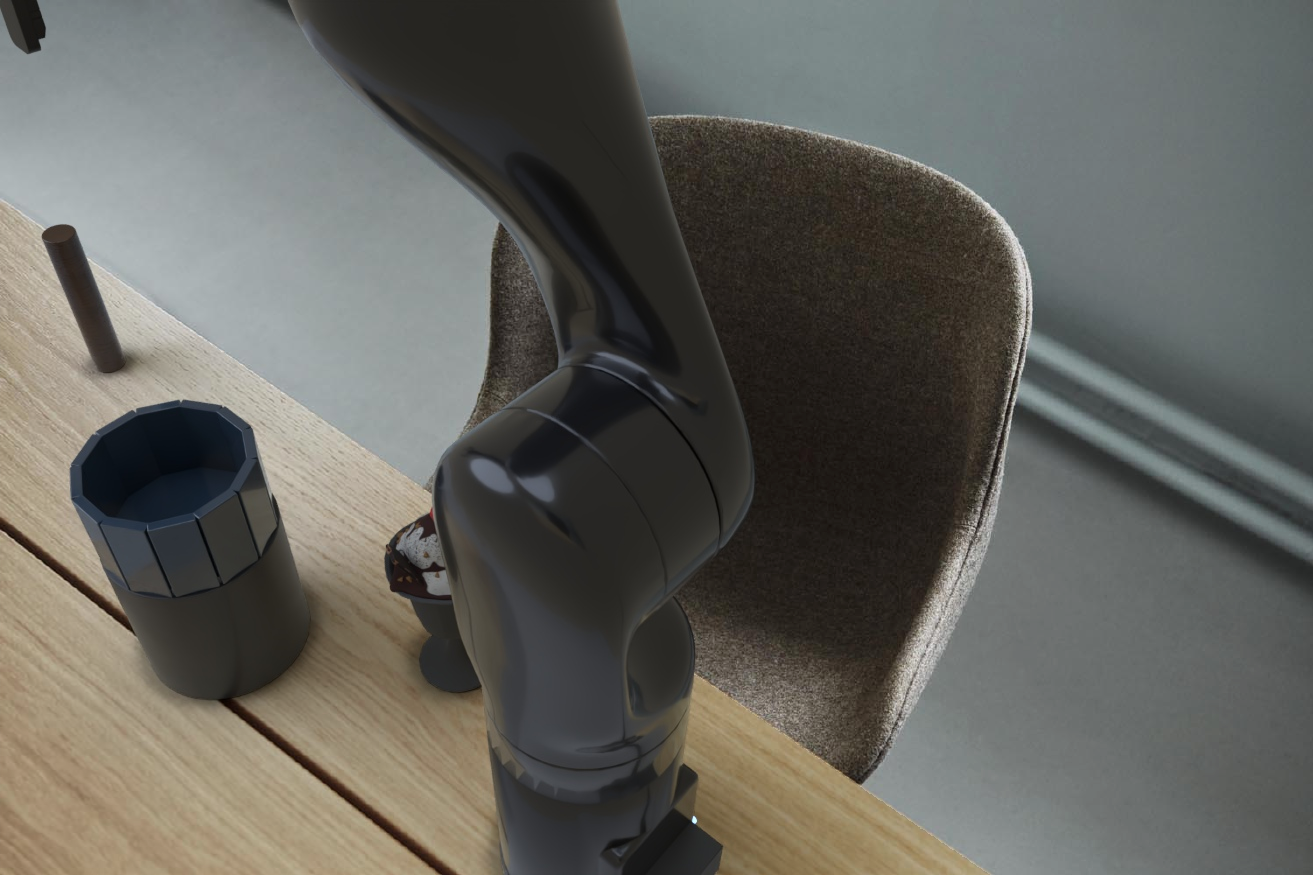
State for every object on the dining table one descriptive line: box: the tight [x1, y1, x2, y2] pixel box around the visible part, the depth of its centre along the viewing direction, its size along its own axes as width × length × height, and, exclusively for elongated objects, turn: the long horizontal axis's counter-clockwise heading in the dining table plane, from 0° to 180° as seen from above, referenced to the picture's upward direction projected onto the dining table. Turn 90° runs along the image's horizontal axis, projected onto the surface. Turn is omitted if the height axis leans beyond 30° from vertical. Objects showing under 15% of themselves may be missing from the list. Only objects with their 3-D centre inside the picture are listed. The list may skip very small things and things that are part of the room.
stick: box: [41, 223, 127, 373], centre depth 83 cm, size 2×2×12 cm
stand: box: [99, 492, 311, 701], centre depth 67 cm, size 10×10×10 cm
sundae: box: [383, 507, 482, 693], centre depth 65 cm, size 7×7×15 cm
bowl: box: [68, 399, 278, 598], centre depth 62 cm, size 9×9×6 cm
